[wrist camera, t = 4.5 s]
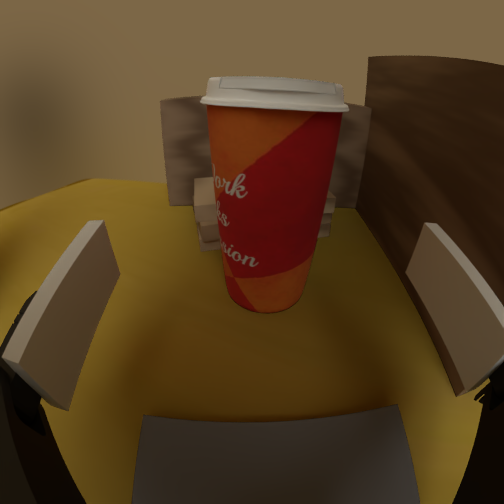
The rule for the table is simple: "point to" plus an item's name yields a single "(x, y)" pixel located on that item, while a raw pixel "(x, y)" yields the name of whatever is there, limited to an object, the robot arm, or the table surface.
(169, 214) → the table surface
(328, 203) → the offcut stack
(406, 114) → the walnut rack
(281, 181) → the paper cup
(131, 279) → the table surface
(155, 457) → the rubber mat
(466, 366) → the robot arm
